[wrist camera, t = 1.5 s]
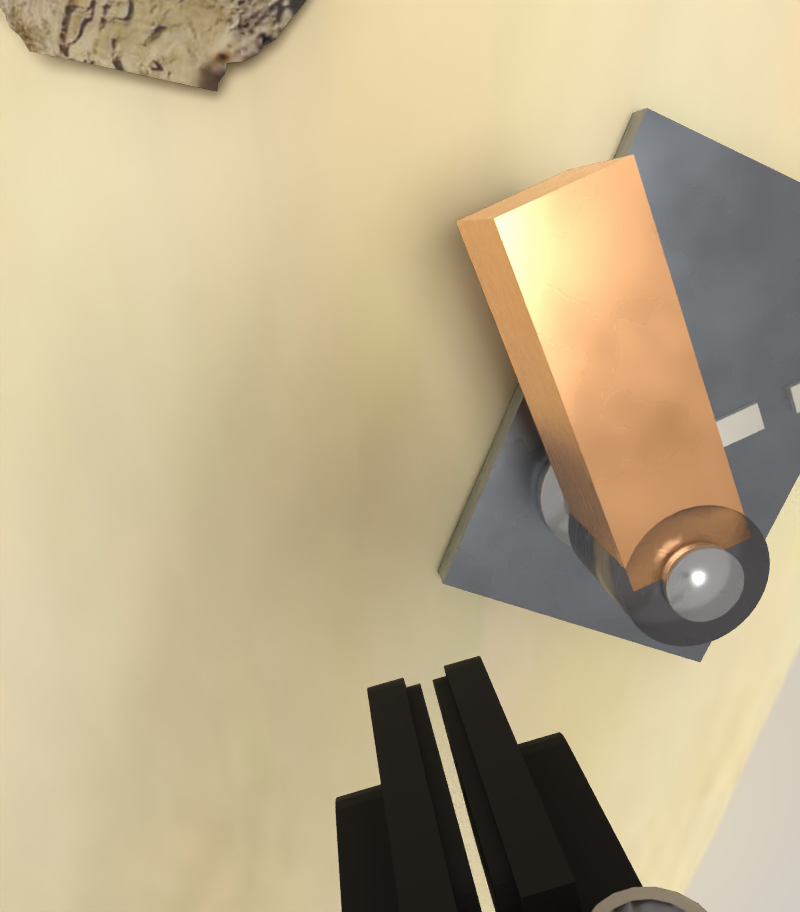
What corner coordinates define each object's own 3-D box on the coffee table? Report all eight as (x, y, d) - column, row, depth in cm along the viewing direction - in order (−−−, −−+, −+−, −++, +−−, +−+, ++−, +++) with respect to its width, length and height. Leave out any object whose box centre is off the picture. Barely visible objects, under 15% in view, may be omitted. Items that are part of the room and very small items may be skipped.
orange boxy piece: (705, 546, 29) (797, 616, 24) (592, 598, 29) (658, 680, 24) (579, 164, 24) (658, 145, 19) (444, 226, 24) (485, 225, 19)
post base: (694, 651, 36) (747, 706, 32) (438, 571, 33) (458, 621, 29) (907, 245, 32) (1002, 247, 27) (633, 112, 29) (691, 92, 25)
